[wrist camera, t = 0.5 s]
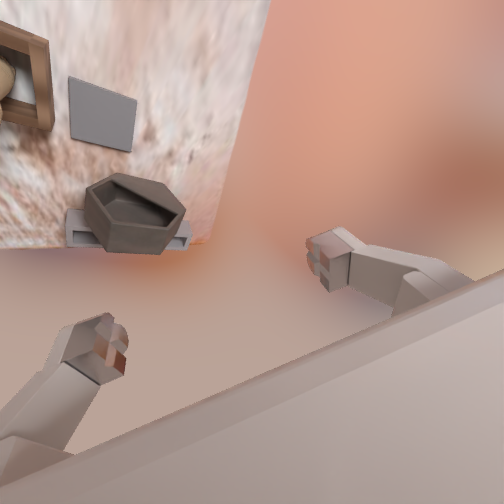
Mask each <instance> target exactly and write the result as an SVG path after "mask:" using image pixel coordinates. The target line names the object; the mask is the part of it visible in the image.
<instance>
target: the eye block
mask: <svg viewBox="0 0 504 504" xmlns="http://www.w3.org/2000/svg"><path fill="white" fill-rule="evenodd" d="M0 45H3V46H6V47H8V48H11V49H14V50H16V51H19V52H22V53H24V54H27V55H30V60H31V68H32V76H33V84H34V92H35V100H36V105H32V104H29V103H25V102H22V101H18V100H15V99H11V98H8V97H4V98H3V99H1V100H0V104H1V108H2V112H3V116H2V120H5V121H9V122H13V123H17V124H21V125H26V126H30V127H34V128H38V129H42V130H46V131H50V132H51V131H52V128H53V125H54V122H55V112H54V100H53V88H52V76H51V64H50V52H49V40H47V39H44V38H42V37H39V36H37V35H34V34H32V33H30V32H27V31H25V30H22V29H20V28H17V27H15V26H13V25H10V24H8V23H5V22H3V21H0Z"/></svg>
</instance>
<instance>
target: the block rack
mask: <svg viewBox="0 0 504 504" xmlns="http://www.w3.org/2000/svg"><path fill="white" fill-rule="evenodd" d="M84 211H85V210H77V209H68V210H67V217H66V224H65V230H66V242H67V247H92V248H93V247H94V248H103V246H102V245H101V243H100V242H99V240H98V239H97V237H96V236H95V234H94V233H93V231H92V230H91V228H90V227H89V225H88V224H87V222H86V221H85V219H84ZM192 235H193V234H192V231H191V228H190V225H189V221H183V220H182V222H181V224H180V227H179V229H178V232H177V234H176V235H175V236H174V237H173V239H172V240H171V241H170V243H169V244H168V245H167V247H166V248H165V249H164V250H187V248H188V246H189V243H190V241H191V238H192Z"/></svg>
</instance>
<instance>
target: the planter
mask: <svg viewBox="0 0 504 504" xmlns="http://www.w3.org/2000/svg"><path fill="white" fill-rule="evenodd" d="M185 212H186V208H185V207H184V206H183V205H182V204H181V203H180V202H179V201H178V199H177V198H176V197H175V196H174V195H173V194H172V193H171V191H170V190H169V189H168V188H167V187H166V186H165V185H164V184H163V183H160V182H155V181H151V180H147V179H142V178H138V177H134V176H129V175H125V174H120V173H115V174H113V175H111V176H109V177H107V178H105V179H103V180H101V181H99V182H97V183H95V184H93V185H91V186H89V187H87V188H86V197H85V211H84V219H85V221H86V222H87V224H88V225H89V227H90V228H91V230H92V231H93V233H94V234H95V236H96V237H97V239H98V240H99V242H100V243H101V245H102V246H103V248H104V249H105V250H106V252H113V253H134V254H154V255H160V254H161V253H162V252H163V250H164V249H165V248H166V247H167V245H168V244H169V243H170V241H171V240H172V239H173V237H174V236H175V235H176V234H177V232H178V229H179V227H180V224H181V222H182V219H183V217H184V214H185Z"/></svg>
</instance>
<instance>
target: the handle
mask: <svg viewBox="0 0 504 504" xmlns="http://www.w3.org/2000/svg"><path fill="white" fill-rule="evenodd" d="M15 75H16V70H15V68H14V67H12V66H11V65H10V64H9V63H8V61H7V60H6V58H5V57H3V56H0V100H1V99H3V98H4V97H5V96H6V95H7V94H8V93H9V92H10V91H11V89H12V87H13V85H14V81H15ZM2 116H3V112H2V108H1V104H0V125H1V121H2Z"/></svg>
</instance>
